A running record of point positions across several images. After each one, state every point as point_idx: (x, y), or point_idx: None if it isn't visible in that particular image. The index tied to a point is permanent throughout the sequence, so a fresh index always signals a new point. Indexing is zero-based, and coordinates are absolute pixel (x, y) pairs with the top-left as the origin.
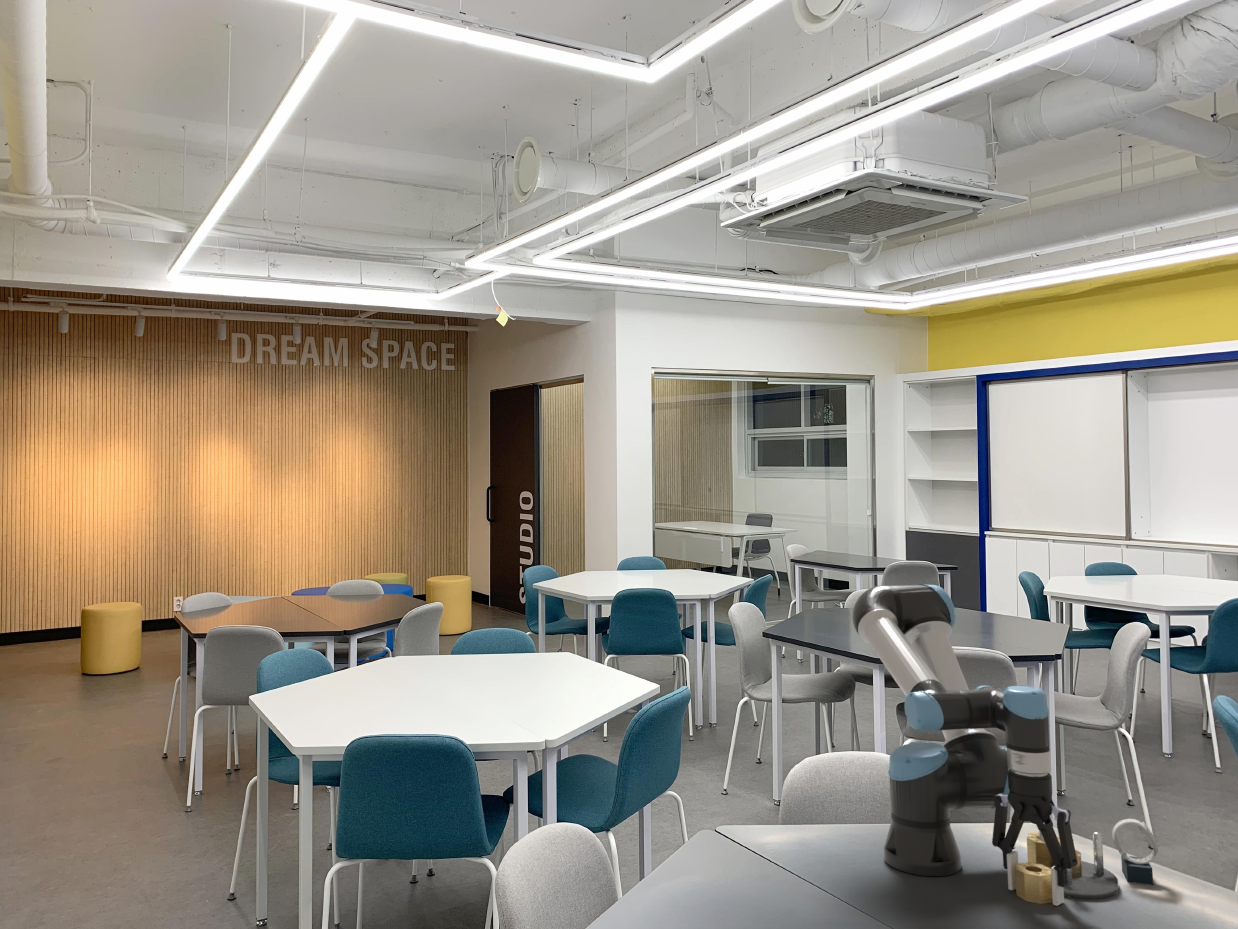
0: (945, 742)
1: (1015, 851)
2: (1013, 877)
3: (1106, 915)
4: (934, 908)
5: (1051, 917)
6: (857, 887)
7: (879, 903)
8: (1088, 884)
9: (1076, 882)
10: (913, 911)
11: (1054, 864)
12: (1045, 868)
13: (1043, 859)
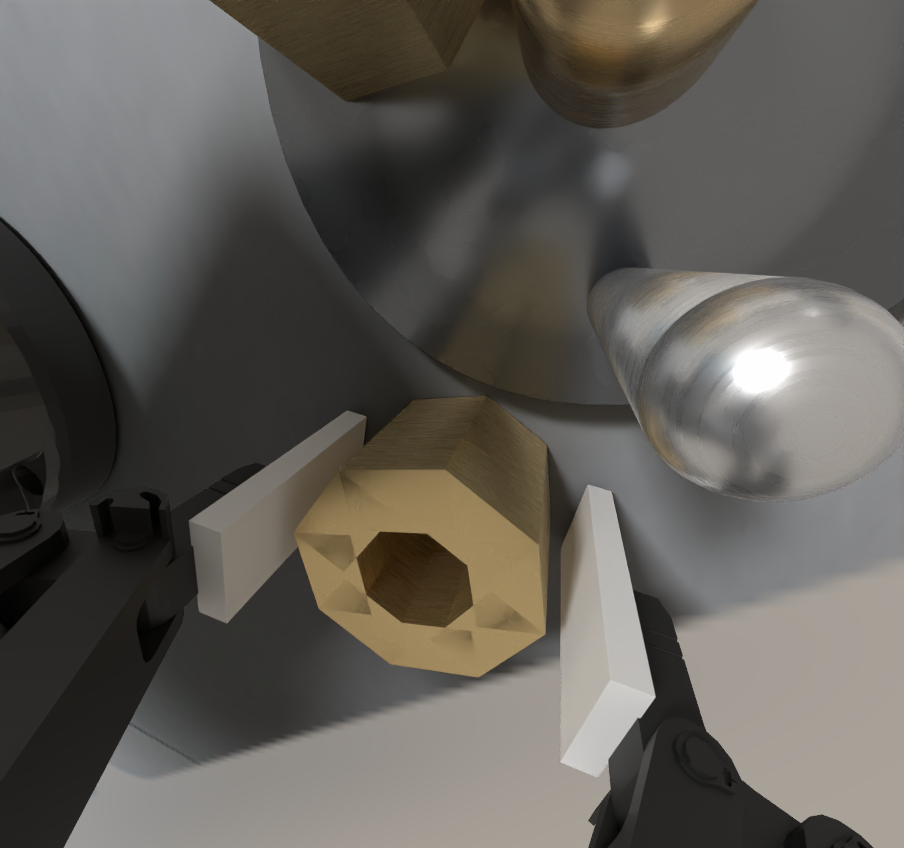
0: None
1: (203, 532)
2: None
3: (867, 537)
4: (249, 693)
5: None
6: None
7: (155, 703)
8: (810, 211)
9: (694, 235)
10: (228, 720)
11: (597, 821)
12: (483, 540)
13: (361, 41)
